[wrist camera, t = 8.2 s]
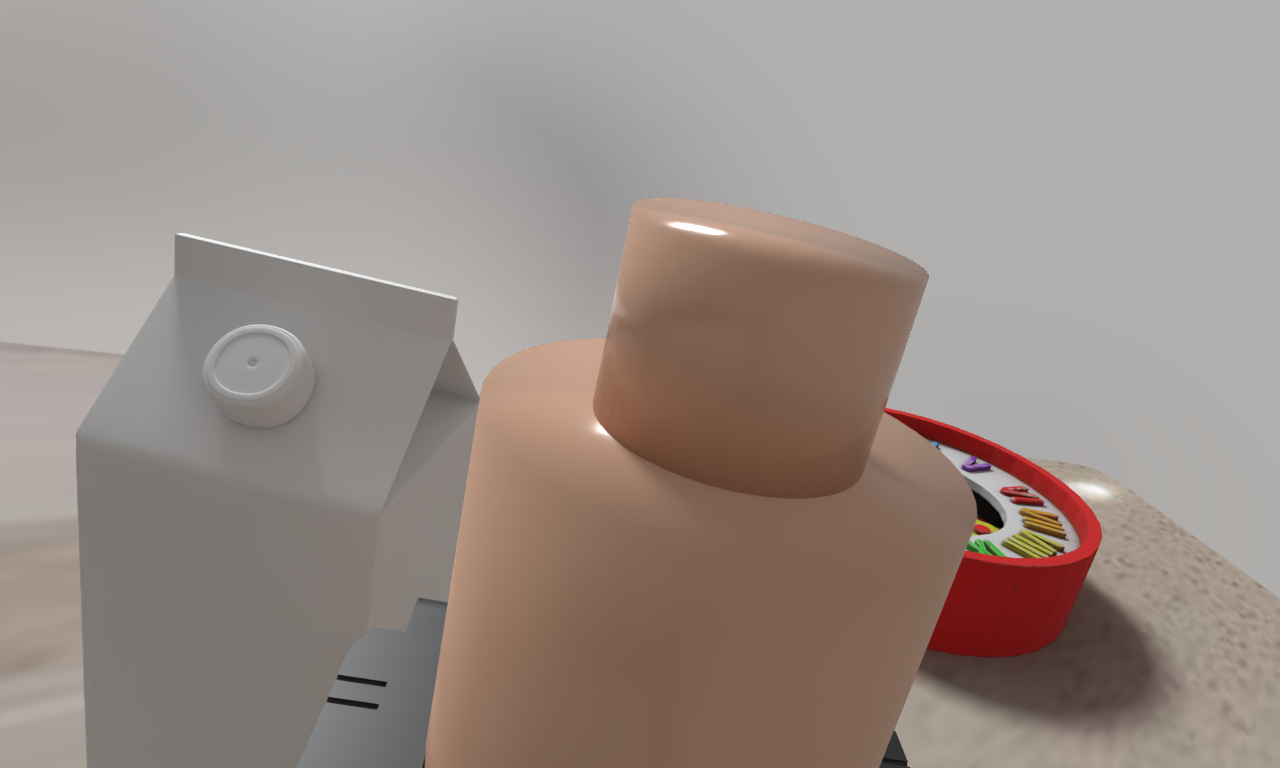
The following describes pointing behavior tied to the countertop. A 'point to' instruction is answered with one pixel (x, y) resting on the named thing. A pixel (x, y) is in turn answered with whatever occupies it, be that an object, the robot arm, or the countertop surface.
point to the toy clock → (1010, 549)
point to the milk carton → (261, 502)
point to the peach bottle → (702, 516)
